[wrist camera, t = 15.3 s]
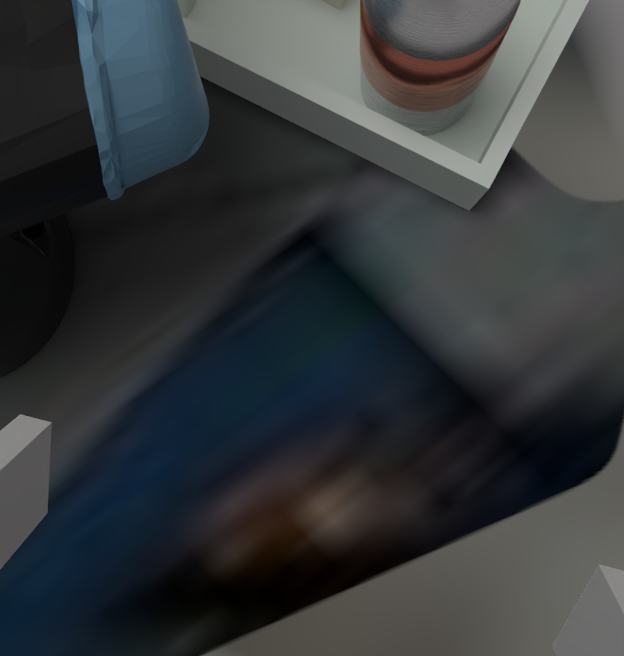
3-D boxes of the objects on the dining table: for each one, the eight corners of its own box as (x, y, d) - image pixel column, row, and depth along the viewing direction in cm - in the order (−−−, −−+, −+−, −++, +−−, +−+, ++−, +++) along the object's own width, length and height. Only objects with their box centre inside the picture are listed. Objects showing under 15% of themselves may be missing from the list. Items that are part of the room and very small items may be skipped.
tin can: (339, 107, 32) (329, -32, 20) (391, 2, 32) (412, -201, 20) (446, 156, 32) (500, 42, 20) (499, 49, 31) (587, -132, 20)
